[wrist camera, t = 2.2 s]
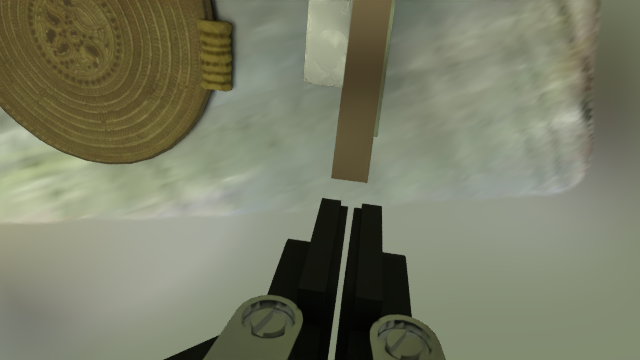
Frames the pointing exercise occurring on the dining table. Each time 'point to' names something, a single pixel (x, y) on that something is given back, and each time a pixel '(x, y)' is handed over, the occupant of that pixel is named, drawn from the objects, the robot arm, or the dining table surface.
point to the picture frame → (362, 87)
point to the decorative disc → (111, 72)
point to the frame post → (327, 41)
